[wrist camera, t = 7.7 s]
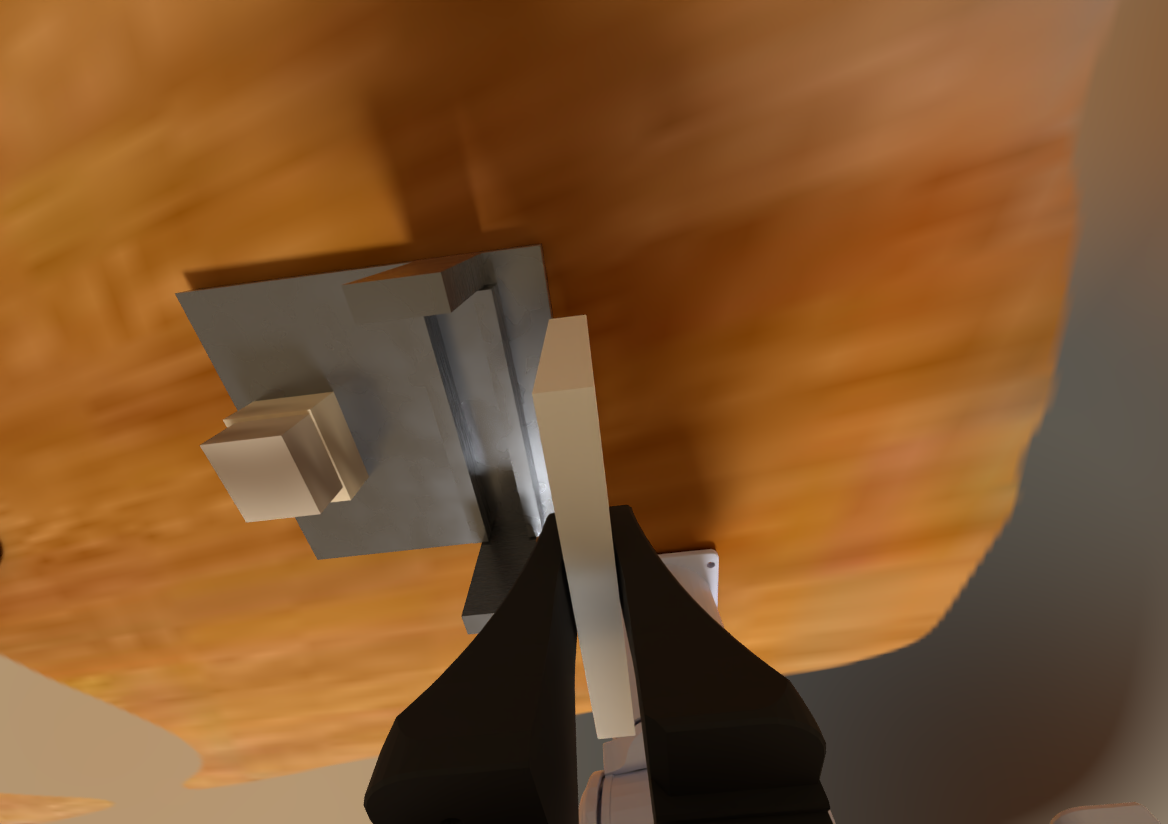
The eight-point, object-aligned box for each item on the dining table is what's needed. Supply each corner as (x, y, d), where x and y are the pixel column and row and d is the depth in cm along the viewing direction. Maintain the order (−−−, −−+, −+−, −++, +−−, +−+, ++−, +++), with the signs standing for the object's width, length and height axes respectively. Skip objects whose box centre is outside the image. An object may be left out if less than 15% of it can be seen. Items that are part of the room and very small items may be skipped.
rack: (584, 519, 25) (587, 622, 19) (326, 547, 26) (246, 656, 20) (541, 243, 18) (524, 260, 12) (193, 289, 19) (5, 328, 13)
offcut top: (343, 487, 20) (320, 514, 18) (275, 494, 20) (246, 522, 19) (309, 413, 19) (281, 435, 17) (235, 422, 19) (199, 445, 17)
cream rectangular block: (617, 582, 19) (635, 735, 13) (591, 585, 19) (597, 738, 13) (586, 314, 13) (594, 386, 8) (549, 319, 13) (531, 394, 8)
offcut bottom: (368, 476, 22) (351, 500, 21) (296, 485, 23) (272, 508, 21) (333, 391, 20) (310, 409, 18) (253, 401, 20) (223, 419, 19)
